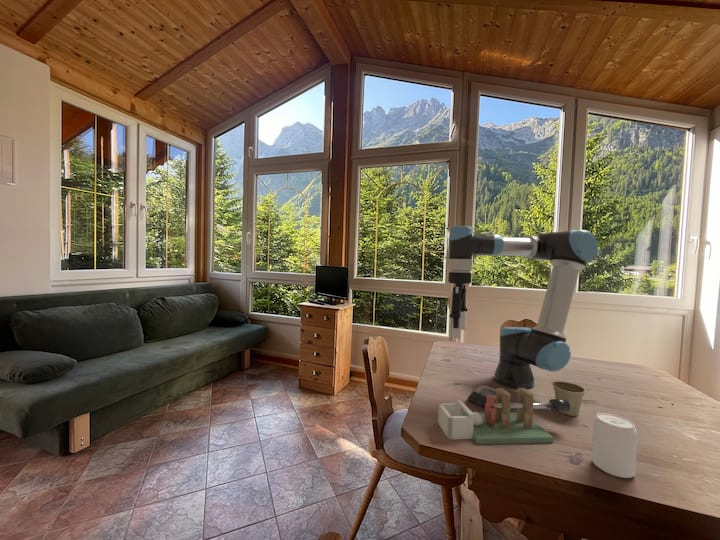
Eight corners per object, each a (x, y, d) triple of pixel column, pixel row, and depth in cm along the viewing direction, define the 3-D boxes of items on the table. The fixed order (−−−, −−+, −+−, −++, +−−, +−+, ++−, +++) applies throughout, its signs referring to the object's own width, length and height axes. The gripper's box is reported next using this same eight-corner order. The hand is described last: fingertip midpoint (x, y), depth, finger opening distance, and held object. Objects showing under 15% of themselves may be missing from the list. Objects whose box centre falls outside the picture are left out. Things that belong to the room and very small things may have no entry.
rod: (560, 418, 94) (561, 393, 94) (569, 424, 90) (570, 398, 90) (484, 419, 92) (485, 393, 92) (490, 426, 88) (491, 399, 88)
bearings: (522, 420, 93) (524, 387, 93) (532, 428, 89) (533, 394, 89) (494, 420, 93) (496, 388, 92) (502, 428, 88) (504, 394, 88)
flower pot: (574, 421, 97) (575, 394, 97) (544, 408, 105) (546, 383, 105) (590, 415, 101) (591, 389, 101) (560, 403, 109) (561, 379, 109)
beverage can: (583, 458, 78) (585, 412, 78) (612, 457, 79) (615, 411, 78) (612, 481, 70) (614, 429, 70) (644, 480, 71) (647, 428, 70)
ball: (478, 421, 92) (479, 409, 92) (484, 428, 88) (485, 415, 88) (467, 421, 92) (467, 409, 91) (472, 428, 88) (473, 416, 88)
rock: (465, 404, 106) (465, 389, 106) (470, 393, 116) (471, 379, 116) (511, 416, 99) (511, 400, 99) (512, 403, 109) (513, 388, 109)
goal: (459, 422, 94) (460, 399, 94) (472, 438, 85) (473, 414, 85) (437, 422, 94) (438, 399, 93) (448, 439, 85) (449, 414, 84)
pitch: (522, 416, 99) (522, 412, 98) (553, 442, 85) (553, 437, 85) (456, 417, 97) (456, 413, 97) (477, 444, 83) (477, 438, 83)
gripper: (453, 270, 117) (452, 325, 118) (442, 272, 95) (441, 340, 95) (474, 271, 114) (473, 327, 115) (467, 273, 91) (466, 343, 92)
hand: (458, 333), depth 105 cm, fingers open, 13 cm apart
